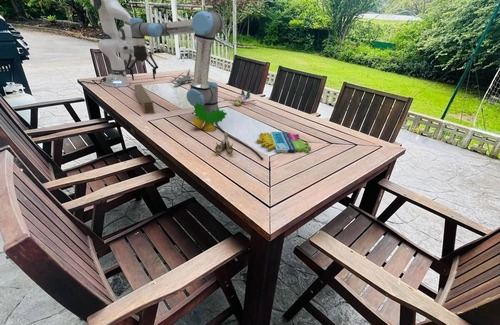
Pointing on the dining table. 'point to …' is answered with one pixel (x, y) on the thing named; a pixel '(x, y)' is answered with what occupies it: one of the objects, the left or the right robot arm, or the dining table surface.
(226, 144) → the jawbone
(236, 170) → the dining table surface
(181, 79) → the airplane
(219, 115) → the ornament
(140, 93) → the post
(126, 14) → the left robot arm
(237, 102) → the toy
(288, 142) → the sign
